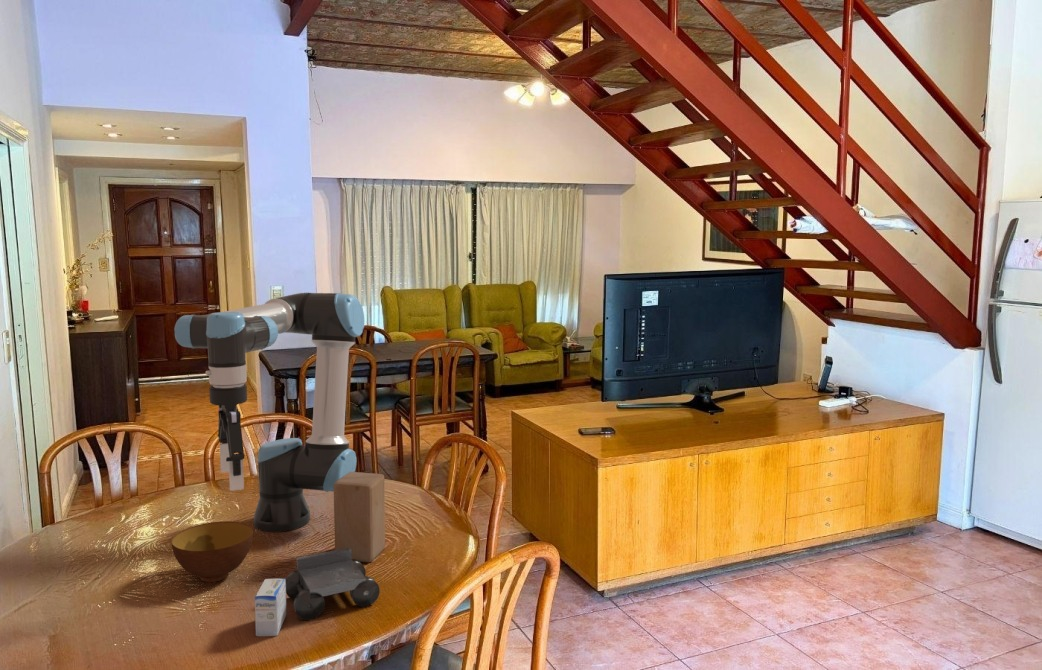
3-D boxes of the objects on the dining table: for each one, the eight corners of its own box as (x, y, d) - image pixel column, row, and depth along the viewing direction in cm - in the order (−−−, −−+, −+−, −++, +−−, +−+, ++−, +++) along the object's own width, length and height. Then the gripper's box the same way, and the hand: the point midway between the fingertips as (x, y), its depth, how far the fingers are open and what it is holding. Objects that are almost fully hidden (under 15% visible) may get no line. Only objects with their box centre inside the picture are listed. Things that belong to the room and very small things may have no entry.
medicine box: (265, 617, 157) (263, 578, 156) (287, 616, 158) (285, 577, 156) (255, 637, 149) (253, 596, 148) (278, 636, 150) (276, 595, 149)
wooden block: (371, 564, 183) (370, 485, 180) (333, 560, 185) (331, 482, 182) (386, 548, 193) (385, 473, 190) (350, 544, 195) (349, 470, 192)
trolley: (283, 598, 165) (282, 560, 164) (363, 581, 174) (362, 544, 173) (296, 623, 155) (294, 582, 154) (379, 603, 164) (379, 564, 162)
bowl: (246, 590, 169) (244, 548, 167) (163, 596, 166) (161, 553, 165) (260, 558, 186) (258, 519, 185) (185, 562, 183) (183, 523, 182)
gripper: (202, 376, 169) (206, 467, 172) (217, 397, 147) (221, 500, 150) (237, 373, 173) (240, 462, 175) (256, 393, 151) (260, 494, 154)
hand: (232, 480), depth 163 cm, fingers open, 13 cm apart
